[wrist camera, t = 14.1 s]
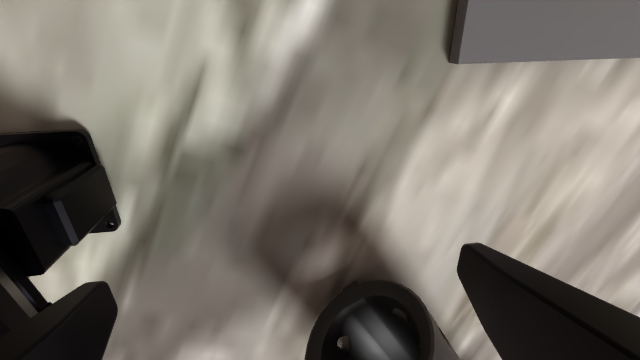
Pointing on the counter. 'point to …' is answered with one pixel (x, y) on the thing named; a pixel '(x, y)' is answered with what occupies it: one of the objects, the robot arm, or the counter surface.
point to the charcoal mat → (545, 30)
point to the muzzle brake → (377, 326)
